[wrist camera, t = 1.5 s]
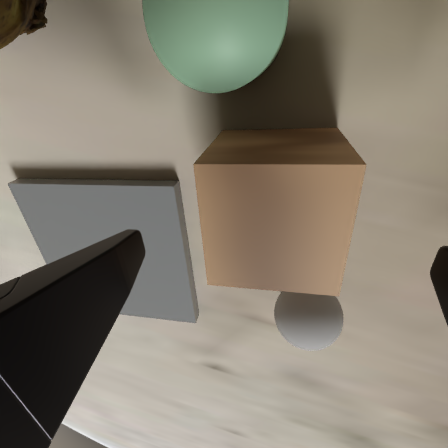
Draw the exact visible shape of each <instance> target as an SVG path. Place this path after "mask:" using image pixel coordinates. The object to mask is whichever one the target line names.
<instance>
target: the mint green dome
mask: <svg viewBox="0 0 448 448" xmlns="http://www.w3.org/2000/svg"><path fill="white" fill-rule="evenodd" d="M142 1H143V15H144V21H145V26H146V30H147V34H148V37H149V40H150V42H151V45H152V47H153V49H154V51H155V53H156V55H157V56H158V58H159V60H160V61H161V63H162V64H163V65H164V67H165V68H166V69H167V70H168V71H169V72H170V74H171V75H173V76H174V77H175V78H176V79H177V80H178V81H180V82H181V83H183V84H184V85H186V86H188V87H190V88H192V89H195V90H198V91H201V92H206V93H224V92H229V91H232V90H235V89H238V88H240V87H242V86H244V85H246V84H247V83H249V82H250V81H252V80H254V79H255V78H257V77H258V76H260V75H261V74H262V73H263V72H264V71H265V70H266V69H267V68H268V67H269V66H270V65H271V63H272V62H273V61H274V59H275V58H276V56H277V54H278V52H279V50H280V48H281V46H282V43H283V40H284V37H285V33H286V28H287V19H288V5H289V0H142Z"/></svg>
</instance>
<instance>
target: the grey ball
mask: <svg viewBox="0 0 448 448" xmlns="http://www.w3.org/2000/svg"><path fill="white" fill-rule="evenodd" d="M274 316H275V322H276V325H277V328H278V330H279V331H280V333H281V335H282V336H283V337H284V338H285V339H286V340H287V341H288V342H289V343H290V344H292V345H293V346H295V347H297V348H300V349H303V350H307V351H317V350H321V349H324V348H326V347H328V346H330V345H331V344H332V343H333V342H335V340H336V339H337V338H338V336H339V335H340V333H341V330H342V327H343V311H342V308H341V305H340V303H339V301H338V299H337V298H336V297H335V296H330V295H318V294H307V293H296V292H284V291H282V292H281V294H280V295H279V297H278V299H277V301H276V304H275V310H274Z"/></svg>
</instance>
